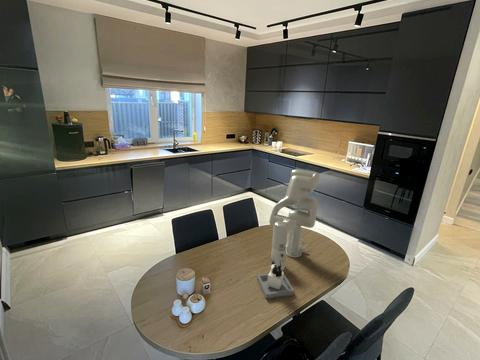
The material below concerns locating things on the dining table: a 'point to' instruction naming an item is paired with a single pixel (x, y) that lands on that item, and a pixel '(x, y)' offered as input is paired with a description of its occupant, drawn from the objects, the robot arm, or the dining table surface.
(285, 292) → the tray
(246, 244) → the dining table surface
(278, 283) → the medicine bottle
